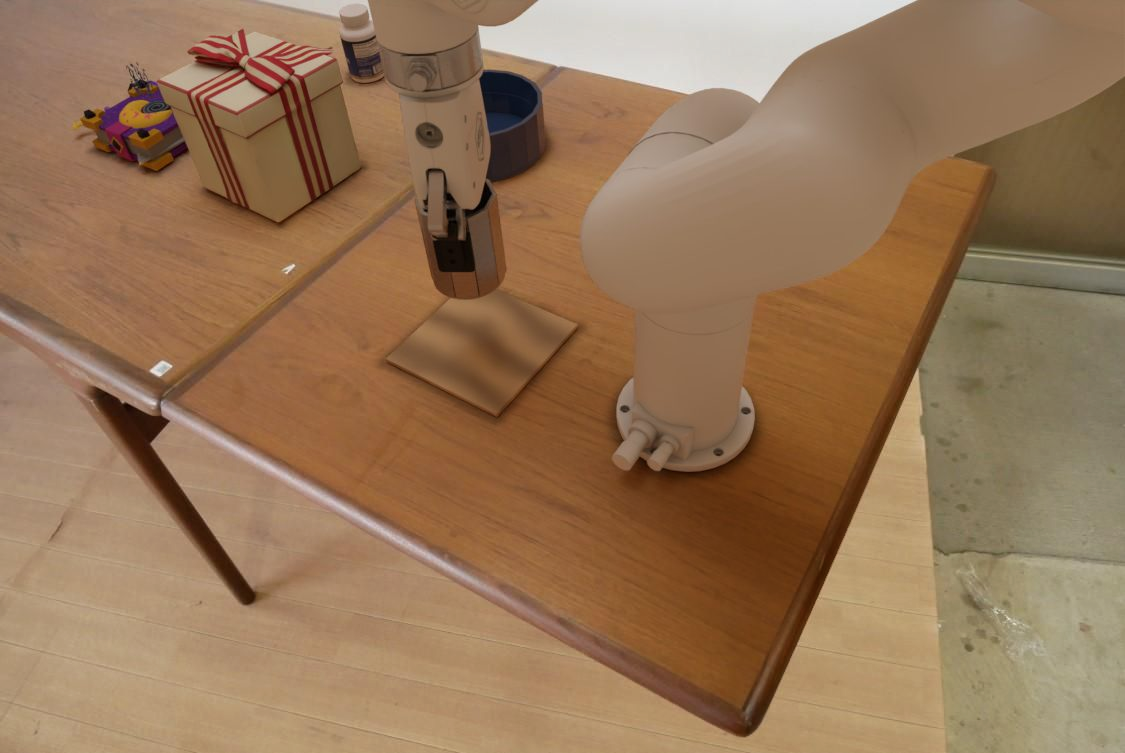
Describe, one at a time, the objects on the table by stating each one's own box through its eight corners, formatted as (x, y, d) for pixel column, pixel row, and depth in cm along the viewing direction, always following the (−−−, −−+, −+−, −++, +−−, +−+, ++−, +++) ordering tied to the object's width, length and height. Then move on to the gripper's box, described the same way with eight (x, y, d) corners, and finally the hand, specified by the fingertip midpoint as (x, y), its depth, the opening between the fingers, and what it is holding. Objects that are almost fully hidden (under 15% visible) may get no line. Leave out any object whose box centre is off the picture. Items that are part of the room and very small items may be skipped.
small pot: (477, 310, 76) (463, 230, 69) (417, 283, 79) (398, 204, 72) (520, 267, 79) (511, 187, 73) (462, 243, 82) (448, 164, 76)
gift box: (384, 151, 111) (353, 23, 98) (287, 230, 100) (239, 98, 88) (289, 121, 117) (248, -3, 104) (189, 192, 107) (130, 64, 94)
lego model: (148, 94, 125) (110, 12, 116) (269, 135, 115) (238, 50, 106) (64, 143, 117) (17, 59, 107) (187, 192, 107) (147, 104, 98)
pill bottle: (348, 70, 126) (331, 5, 119) (383, 62, 127) (369, -2, 120) (353, 86, 123) (336, 21, 116) (389, 79, 124) (375, 13, 116)
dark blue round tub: (496, 197, 103) (490, 151, 98) (397, 160, 109) (386, 115, 104) (569, 133, 111) (567, 88, 106) (473, 103, 118) (466, 59, 113)
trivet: (497, 417, 79) (496, 414, 79) (386, 362, 85) (385, 358, 84) (578, 327, 87) (577, 324, 86) (471, 282, 92) (470, 278, 92)
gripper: (464, 116, 57) (493, 308, 70) (494, 1, 68) (515, 184, 81) (355, 117, 57) (405, 307, 70) (404, 3, 69) (438, 185, 82)
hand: (463, 240), depth 76 cm, fingers closed on small pot, 7 cm apart
